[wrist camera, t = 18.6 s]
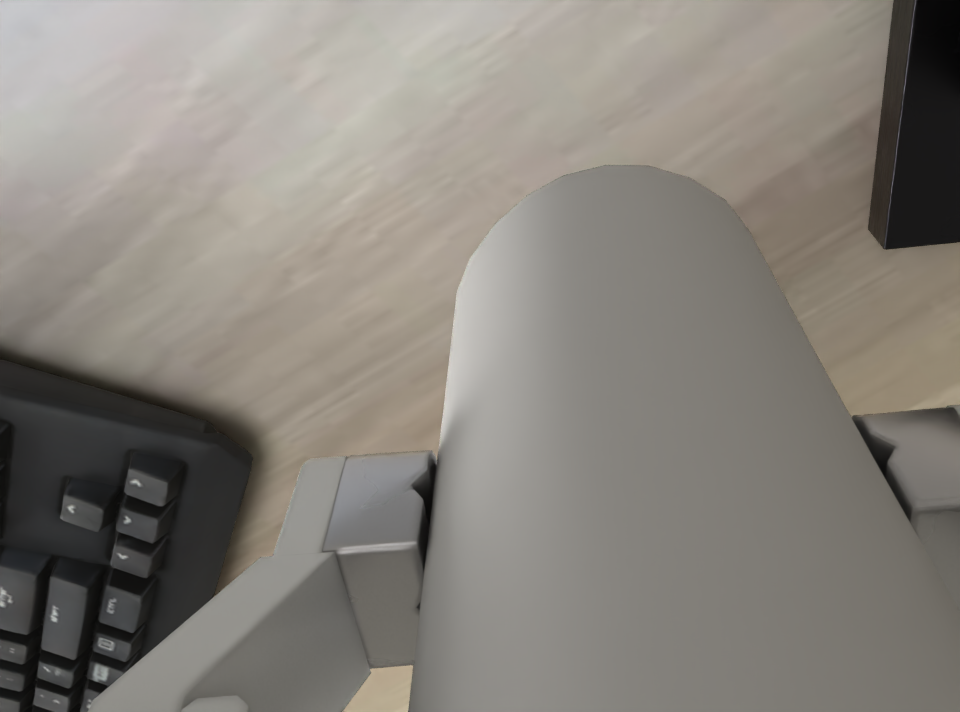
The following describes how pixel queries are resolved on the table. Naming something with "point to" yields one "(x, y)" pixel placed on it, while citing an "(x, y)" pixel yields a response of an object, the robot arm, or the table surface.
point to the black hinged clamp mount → (919, 129)
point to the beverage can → (659, 482)
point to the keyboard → (101, 533)
